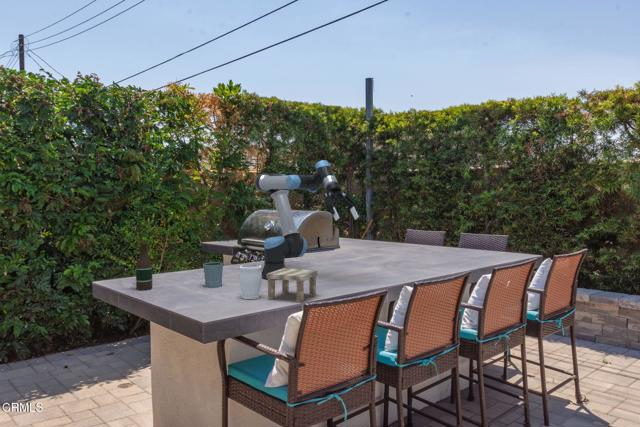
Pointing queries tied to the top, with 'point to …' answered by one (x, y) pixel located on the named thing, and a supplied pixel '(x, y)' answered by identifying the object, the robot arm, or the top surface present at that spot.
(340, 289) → the top surface
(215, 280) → the teal plant pot
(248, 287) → the jar
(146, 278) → the beer bottle
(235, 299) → the top surface
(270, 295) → the stool
